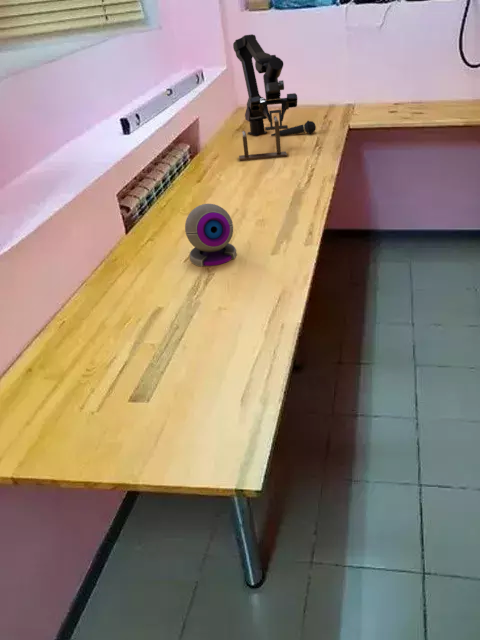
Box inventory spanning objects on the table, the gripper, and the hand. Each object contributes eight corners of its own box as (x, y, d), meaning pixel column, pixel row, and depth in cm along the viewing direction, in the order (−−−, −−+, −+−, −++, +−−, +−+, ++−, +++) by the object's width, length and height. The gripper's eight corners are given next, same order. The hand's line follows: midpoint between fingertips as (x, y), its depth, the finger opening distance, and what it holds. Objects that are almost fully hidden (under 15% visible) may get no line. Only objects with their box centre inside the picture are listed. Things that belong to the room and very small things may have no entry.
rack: (238, 155, 253) (235, 119, 245) (285, 151, 254) (282, 115, 246) (239, 161, 246) (235, 124, 238) (287, 156, 247) (284, 120, 239)
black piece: (265, 129, 248) (263, 111, 244) (287, 127, 248) (286, 109, 244) (265, 130, 246) (263, 112, 243) (287, 128, 247) (286, 109, 243)
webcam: (197, 270, 166) (188, 217, 157) (184, 253, 176) (176, 202, 167) (242, 260, 170) (236, 207, 161) (228, 243, 180) (221, 193, 171)
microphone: (272, 144, 274) (317, 135, 272) (270, 132, 270) (315, 123, 268) (272, 137, 277) (315, 128, 276) (269, 125, 273) (314, 116, 271)
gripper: (247, 75, 239) (251, 111, 236) (295, 71, 240) (300, 107, 237) (248, 92, 250) (252, 127, 247) (294, 88, 251) (299, 123, 248)
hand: (276, 121), depth 244 cm, fingers closed on black piece, 4 cm apart
